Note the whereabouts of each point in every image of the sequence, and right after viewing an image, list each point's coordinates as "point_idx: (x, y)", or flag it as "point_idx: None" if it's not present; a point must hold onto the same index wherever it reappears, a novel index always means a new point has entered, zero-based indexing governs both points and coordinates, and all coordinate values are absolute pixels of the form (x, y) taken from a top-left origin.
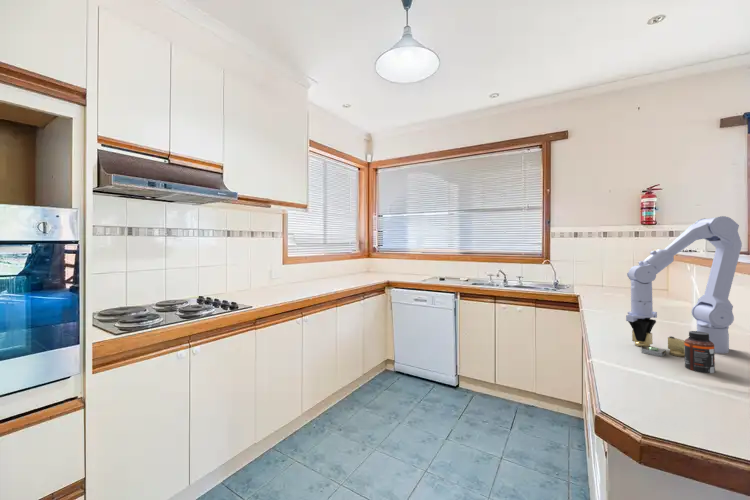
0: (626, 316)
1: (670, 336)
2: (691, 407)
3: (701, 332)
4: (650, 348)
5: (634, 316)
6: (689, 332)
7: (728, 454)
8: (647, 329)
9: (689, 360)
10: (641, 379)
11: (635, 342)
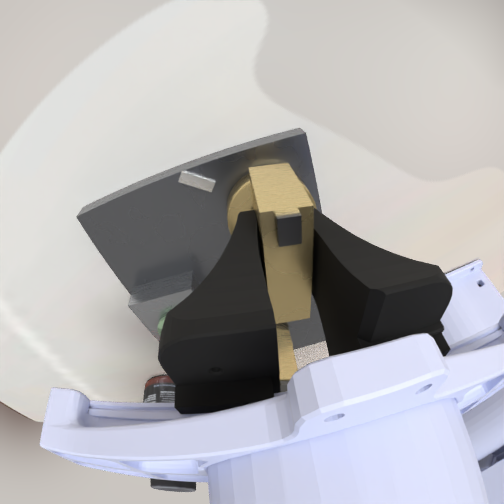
0: (43, 435)
1: (286, 385)
2: (44, 404)
3: (180, 490)
4: (157, 329)
5: (104, 467)
6: (152, 485)
7: (29, 418)
8: (323, 310)
9: None
10: (22, 360)
11: (234, 197)
